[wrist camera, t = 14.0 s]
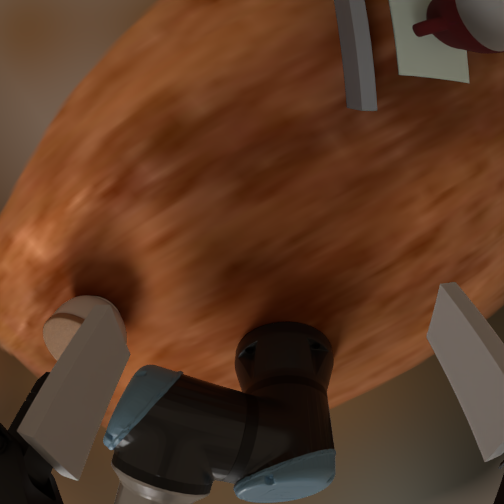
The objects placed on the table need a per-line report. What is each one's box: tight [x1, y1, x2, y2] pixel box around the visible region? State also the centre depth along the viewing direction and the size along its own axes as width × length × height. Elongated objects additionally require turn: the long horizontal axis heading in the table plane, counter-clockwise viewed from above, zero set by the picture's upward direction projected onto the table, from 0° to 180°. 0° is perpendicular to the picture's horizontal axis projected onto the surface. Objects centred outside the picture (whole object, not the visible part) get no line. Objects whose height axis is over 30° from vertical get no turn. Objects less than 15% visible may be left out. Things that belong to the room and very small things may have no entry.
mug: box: [412, 0, 504, 53], centre depth 21 cm, size 10×8×10 cm
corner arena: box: [334, 0, 469, 111], centre depth 22 cm, size 22×20×6 cm
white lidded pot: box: [43, 295, 127, 361], centre depth 42 cm, size 13×13×11 cm
